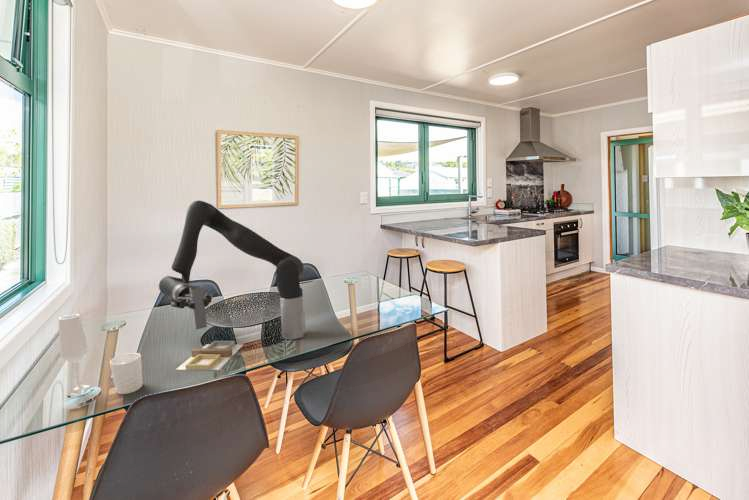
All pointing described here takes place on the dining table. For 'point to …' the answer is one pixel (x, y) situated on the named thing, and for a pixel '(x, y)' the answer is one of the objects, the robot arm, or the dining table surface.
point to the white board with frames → (211, 356)
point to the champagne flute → (73, 343)
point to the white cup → (127, 372)
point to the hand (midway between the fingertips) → (200, 304)
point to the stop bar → (198, 307)
